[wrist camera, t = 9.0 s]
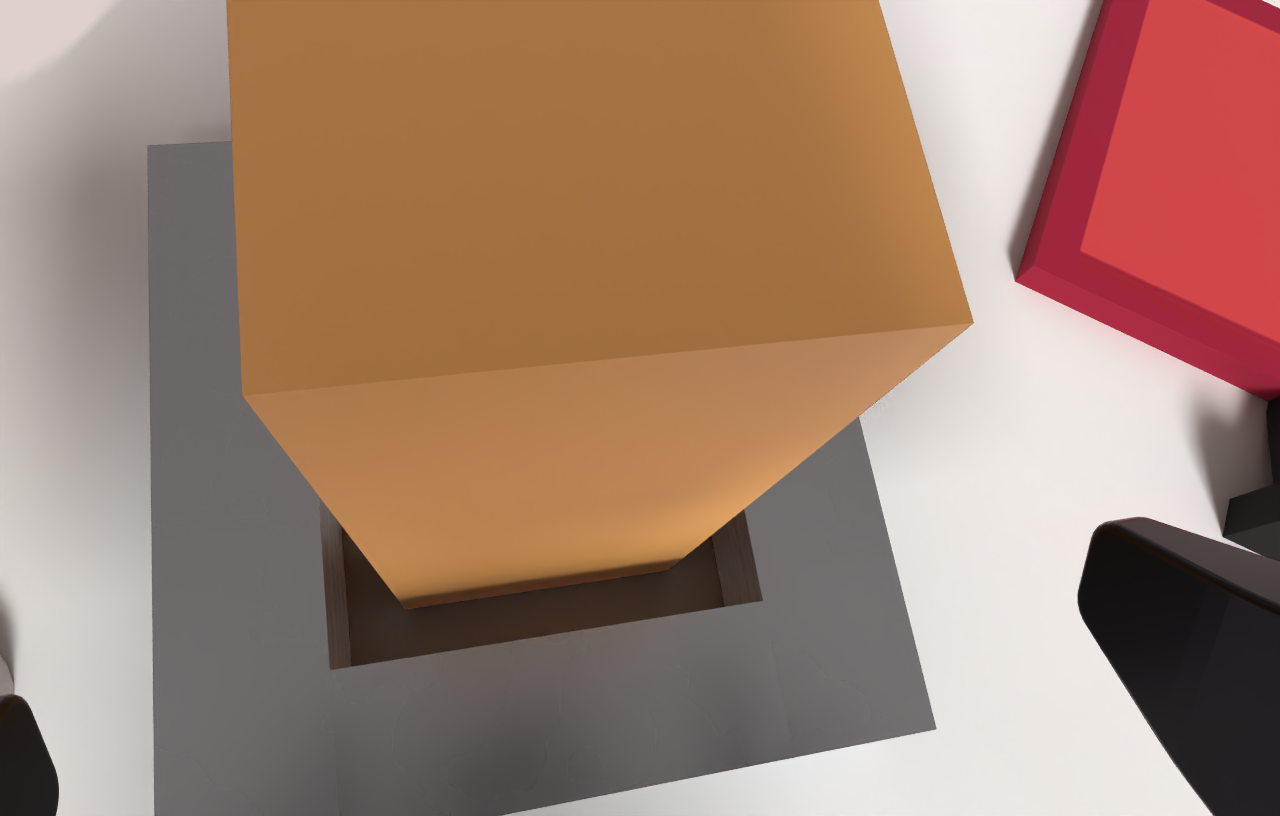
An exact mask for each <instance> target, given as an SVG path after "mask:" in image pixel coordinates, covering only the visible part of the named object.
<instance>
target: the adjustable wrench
mask: <svg viewBox="0 0 1280 816" xmlns="http://www.w3.org/2000/svg"><path fill="white" fill-rule="evenodd" d="M3 694H14V683H13V680H12V677H11V674H10V671H9V668H8V665H7V662H6V661H5V660H4V659H3V657H2V656H1V655H0V695H3Z"/></svg>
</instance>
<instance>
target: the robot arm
mask: <svg viewBox="0 0 1280 816" xmlns="http://www.w3.org/2000/svg"><path fill="white" fill-rule="evenodd" d="M1077 597H1078V607H1079V611H1080V614H1081V616H1082V619H1083V621H1084V622H1085V624H1086V626H1087V627H1088V629H1089V631H1090V632H1091V634H1092V635H1093V637H1094V638H1095V640H1096V642H1097V643H1098V645H1099V646H1100V648H1101V650H1102V651H1103V653H1104V654H1105V656H1106V658H1107V659H1108V661H1109V662H1110V664H1111V665H1112V667H1113V669H1114V670H1115V672H1116V673H1117V675H1118V677H1119V678H1120V680H1121V681H1122V683H1123V684H1124V686H1125V688H1126V689H1127V691H1128V692H1129V694H1130V696H1131V697H1132V699H1133V700H1134V702H1135V704H1136V705H1137V707H1138V708H1139V710H1140V711H1141V713H1142V715H1143V716H1144V718H1145V719H1146V721H1147V723H1148V724H1149V726H1150V727H1151V729H1152V731H1153V732H1154V734H1155V735H1156V737H1157V738H1158V740H1159V741H1160V743H1161V744H1162V746H1163V747H1164V749H1165V751H1166V752H1167V754H1168V755H1169V757H1170V758H1171V760H1172V761H1173V763H1174V764H1175V765H1176V767H1177V768H1178V769H1179V771H1180V772H1181V774H1182V775H1183V776H1184V778H1185V779H1186V780H1187V782H1188V783H1189V785H1190V786H1191V787H1192V789H1193V790H1194V791H1195V792H1196V794H1197V795H1198V796H1199V798H1200V799H1201V800H1202V802H1203V803H1204V804H1205V806H1206V807H1207V808H1208V810H1209V811H1210V812H1211V813H1212V815H1213V816H1280V562H1278V561H1275V560H1272V559H1269V558H1266V557H1263V556H1260V555H1257V554H1254V553H1251V552H1248V551H1245V550H1242V549H1239V548H1236V547H1233V546H1230V545H1227V544H1224V543H1221V542H1218V541H1215V540H1212V539H1209V538H1206V537H1203V536H1200V535H1197V534H1194V533H1191V532H1188V531H1185V530H1182V529H1179V528H1176V527H1173V526H1170V525H1167V524H1164V523H1161V522H1158V521H1155V520H1152V519H1149V518H1145V517H1133V518H1127V519H1120V520H1114V521H1108V522H1105V523H1103V524H1101V525H1099V526H1098V527H1097V529H1096V530H1095V531H1094V532H1093V535H1092V537H1091V541H1090V545H1089V549H1088V553H1087V557H1086V561H1085V565H1084V569H1083V573H1082V577H1081V581H1080V585H1079V589H1078V595H1077ZM58 799H59V784H58V778H57V773H56V770H55V767H54V765H53V762H52V760H51V757H50V755H49V752H48V750H47V747H46V745H45V743H44V740H43V738H42V735H41V733H40V730H39V728H38V725H37V723H36V720H35V718H34V716H33V713H32V711H31V709H30V707H29V705H28V703H27V702H26V701H25V700H24V699H23V698H22V697H20V696H18V695H15V694H3V695H0V816H56V812H57V807H58Z"/></svg>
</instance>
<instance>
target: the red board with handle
mask: <svg viewBox="0 0 1280 816" xmlns="http://www.w3.org/2000/svg"><path fill="white" fill-rule="evenodd" d="M1015 282H1017V283H1019V284H1022V285H1024V286H1026V287H1028V288H1030V289H1032V290H1034V291H1036V292H1038V293H1041V294H1043V295H1045V296H1047V297H1049V298H1051V299H1053V300H1055V301H1057V302H1060V303H1062V304H1064V305H1066V306H1068V307H1070V308H1072V309H1074V310H1076V311H1078V312H1081V313H1083V314H1085V315H1087V316H1089V317H1091V318H1093V319H1095V320H1097V321H1100V322H1102V323H1104V324H1106V325H1108V326H1110V327H1112V328H1114V329H1116V330H1119V331H1121V332H1123V333H1125V334H1127V335H1129V336H1131V337H1133V338H1135V339H1138V340H1140V341H1142V342H1144V343H1146V344H1148V345H1150V346H1152V347H1154V348H1157V349H1159V350H1161V351H1163V352H1165V353H1167V354H1169V355H1171V356H1173V357H1176V358H1178V359H1180V360H1182V361H1184V362H1186V363H1188V364H1190V365H1192V366H1194V367H1197V368H1199V369H1201V370H1203V371H1205V372H1207V373H1209V374H1211V375H1213V376H1216V377H1218V378H1220V379H1222V380H1224V381H1226V382H1228V383H1230V384H1232V385H1235V386H1237V387H1239V388H1241V389H1243V390H1245V391H1247V392H1249V393H1251V394H1254V395H1256V396H1258V397H1260V398H1262V399H1264V400H1266V401H1268V405H1267V411H1266V413H1267V423H1268V434H1269V444H1270V455H1271V466H1272V476H1273V485H1271V486H1268V487H1265V488H1262V489H1259V490H1256V491H1253V492H1250V493H1247V494H1244V495H1241V496H1238V497H1235V498H1232V499H1230V501H1229V506H1228V511H1227V517H1226V522H1225V527H1224V532H1223V537H1224V538H1226V539H1228V540H1230V541H1232V542H1235V543H1237V544H1239V545H1241V546H1243V547H1245V548H1247V549H1249V550H1252V551H1254V552H1256V553H1258V554H1260V555H1262V556H1264V557H1266V558H1269V559H1272V560H1275V561H1278V562H1280V9H1279V8H1277V7H1275V6H1273V5H1271V4H1269V3H1266V2H1264V1H1262V0H1104V1H1103V4H1102V8H1101V11H1100V14H1099V17H1098V20H1097V23H1096V27H1095V30H1094V33H1093V36H1092V39H1091V42H1090V46H1089V49H1088V52H1087V55H1086V58H1085V61H1084V65H1083V68H1082V71H1081V74H1080V77H1079V80H1078V84H1077V87H1076V90H1075V93H1074V96H1073V100H1072V103H1071V106H1070V109H1069V112H1068V115H1067V119H1066V122H1065V125H1064V128H1063V131H1062V134H1061V138H1060V141H1059V144H1058V147H1057V150H1056V153H1055V157H1054V160H1053V163H1052V166H1051V169H1050V172H1049V176H1048V179H1047V182H1046V185H1045V188H1044V191H1043V195H1042V198H1041V201H1040V204H1039V207H1038V211H1037V214H1036V217H1035V220H1034V223H1033V226H1032V230H1031V233H1030V236H1029V239H1028V242H1027V245H1026V249H1025V252H1024V255H1023V258H1022V261H1021V264H1020V268H1019V271H1018V274H1017V277H1016V280H1015Z"/></svg>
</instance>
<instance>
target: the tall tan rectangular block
mask: <svg viewBox="0 0 1280 816" xmlns="http://www.w3.org/2000/svg"><path fill="white" fill-rule="evenodd" d="M227 25H228V50H229V75H230V100H231V125H232V151H233V176H234V201H235V226H236V251H237V276H238V301H239V326H240V351H241V376H242V396H243V397H244V399H245V400H246V401H247V402H248V404H249V405H250V406H251V408H252V409H253V410H254V412H255V413H256V414H257V416H258V417H259V418H260V420H261V421H262V422H263V423H264V425H265V426H266V427H267V429H268V430H269V431H270V433H271V434H272V435H273V437H274V438H275V439H276V440H277V442H278V443H279V444H280V446H281V447H282V448H283V450H284V451H285V452H286V454H287V455H288V456H289V457H290V459H291V460H292V461H293V463H294V464H295V465H296V467H297V468H298V469H299V471H300V472H301V473H302V475H303V476H304V477H305V478H306V480H307V481H308V482H309V484H310V485H311V486H312V488H313V489H314V490H315V492H316V493H317V494H318V495H319V497H320V498H321V499H322V501H323V502H324V503H325V505H326V506H327V507H328V509H329V510H330V511H331V512H332V514H333V515H334V516H335V518H336V519H337V520H338V522H339V523H340V524H341V526H342V527H343V528H344V529H345V531H346V532H347V533H348V535H349V536H350V537H351V539H352V540H353V541H354V543H355V544H356V545H357V547H358V548H359V549H360V550H361V552H362V553H363V554H364V556H365V557H366V558H367V560H368V561H369V562H370V564H371V565H372V566H373V567H374V569H375V570H376V571H377V573H378V574H379V575H380V577H381V578H382V579H383V581H384V582H385V583H386V584H387V586H388V587H389V588H390V590H391V591H392V592H393V594H394V595H395V596H396V598H397V599H398V600H399V601H400V603H401V604H402V605H403V607H404V608H405V609H412V608H419V607H425V606H432V605H439V604H446V603H452V602H459V601H466V600H473V599H479V598H486V597H493V596H500V595H506V594H513V593H520V592H526V591H533V590H540V589H547V588H553V587H560V586H567V585H574V584H580V583H587V582H594V581H601V580H607V579H614V578H621V577H628V576H634V575H641V574H648V573H655V572H661V571H668V570H669V569H670V568H672V567H673V566H674V565H675V564H677V563H678V562H679V561H680V560H681V559H683V558H684V557H685V556H686V555H688V554H689V553H690V552H691V551H693V550H694V549H695V548H696V547H698V546H699V545H700V544H701V543H702V542H704V541H705V540H706V539H707V538H709V537H710V536H711V535H712V534H714V533H715V532H716V531H717V530H719V529H720V528H721V527H722V526H723V525H725V524H726V523H727V522H728V521H730V520H731V519H732V518H733V517H735V516H736V515H737V514H738V513H740V512H741V511H742V510H743V509H744V508H746V507H747V506H748V505H749V504H751V503H752V502H753V501H754V500H756V499H757V498H758V497H759V496H761V495H762V494H763V493H764V492H766V491H767V490H768V489H769V488H770V487H772V486H773V485H774V484H775V483H777V482H778V481H779V480H780V479H782V478H783V477H784V476H785V475H787V474H788V473H789V472H790V471H791V470H793V469H794V468H795V467H796V466H798V465H799V464H800V463H801V462H803V461H804V460H805V459H806V458H808V457H809V456H810V455H811V454H812V453H814V452H815V451H816V450H817V449H819V448H820V447H821V446H822V445H824V444H825V443H826V442H827V441H829V440H830V439H831V438H832V437H833V436H835V435H836V434H837V433H838V432H840V431H841V430H842V429H843V428H845V427H846V426H847V425H848V424H850V423H851V422H852V421H853V420H854V419H856V418H857V417H858V416H859V415H861V414H862V413H863V412H864V411H866V410H867V409H868V408H869V407H871V406H872V405H873V404H874V403H876V402H877V401H878V400H879V399H880V398H882V397H883V396H884V395H885V394H887V393H888V392H889V391H890V390H892V389H893V388H894V387H895V386H897V385H898V384H899V383H900V382H901V381H903V380H904V379H905V378H906V377H908V376H909V375H910V374H911V373H913V372H914V371H915V370H916V369H918V368H919V367H920V366H921V365H922V364H924V363H925V362H926V361H927V360H929V359H930V358H931V357H932V356H934V355H935V354H936V353H937V352H939V351H940V350H941V349H942V348H943V347H945V346H946V345H947V344H948V343H950V342H951V341H952V340H953V339H955V338H956V337H957V336H958V335H960V334H961V333H962V332H963V331H964V330H966V329H967V328H968V327H969V326H971V325H972V324H973V323H974V322H973V319H972V315H971V312H970V308H969V305H968V302H967V298H966V295H965V292H964V288H963V285H962V281H961V278H960V275H959V271H958V268H957V264H956V261H955V258H954V254H953V251H952V248H951V244H950V241H949V237H948V234H947V231H946V227H945V224H944V220H943V217H942V214H941V210H940V207H939V204H938V200H937V197H936V193H935V190H934V187H933V183H932V180H931V176H930V173H929V170H928V166H927V163H926V160H925V156H924V153H923V149H922V146H921V143H920V139H919V136H918V132H917V129H916V126H915V122H914V119H913V116H912V112H911V109H910V105H909V102H908V99H907V95H906V92H905V88H904V85H903V82H902V78H901V75H900V72H899V68H898V65H897V61H896V58H895V55H894V51H893V48H892V44H891V41H890V38H889V34H888V31H887V28H886V24H885V21H884V17H883V14H882V11H881V7H880V4H879V0H227Z"/></svg>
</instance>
